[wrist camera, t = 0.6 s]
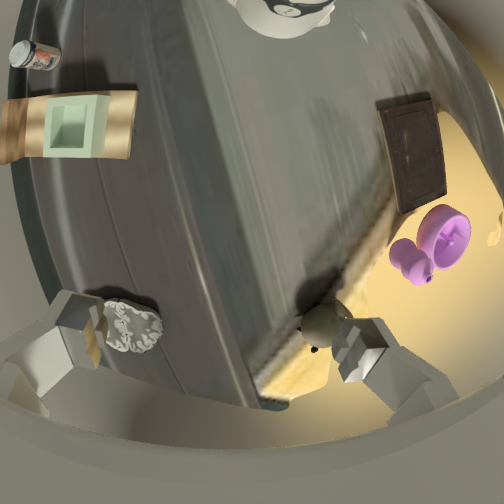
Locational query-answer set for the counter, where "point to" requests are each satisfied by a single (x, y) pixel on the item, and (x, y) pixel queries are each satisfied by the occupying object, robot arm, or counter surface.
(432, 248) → the container set
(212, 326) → the counter surface
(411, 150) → the hardcover book
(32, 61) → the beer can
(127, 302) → the brain slice
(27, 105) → the board
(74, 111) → the socket block
